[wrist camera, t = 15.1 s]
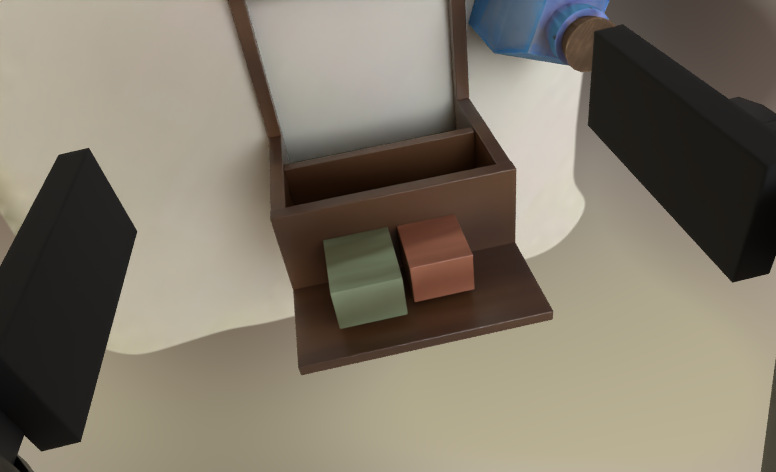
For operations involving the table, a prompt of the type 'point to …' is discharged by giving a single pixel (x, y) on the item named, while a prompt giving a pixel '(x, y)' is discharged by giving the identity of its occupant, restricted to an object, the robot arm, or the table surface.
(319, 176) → the desk rack
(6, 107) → the table surface
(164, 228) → the table surface
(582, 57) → the perfume bottle
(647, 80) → the robot arm
